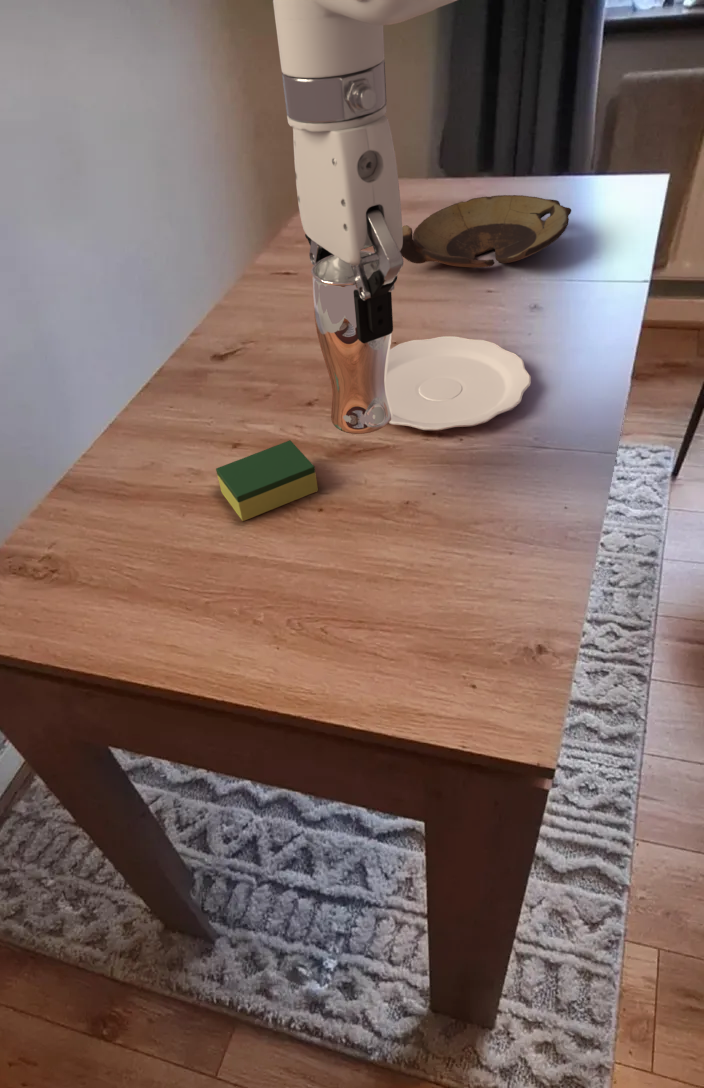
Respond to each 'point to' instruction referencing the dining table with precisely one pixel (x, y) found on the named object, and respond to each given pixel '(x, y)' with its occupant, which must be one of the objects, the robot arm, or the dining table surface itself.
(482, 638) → the dining table surface
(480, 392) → the plate
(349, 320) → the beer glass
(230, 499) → the sponge
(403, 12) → the robot arm
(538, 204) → the broken bowl
